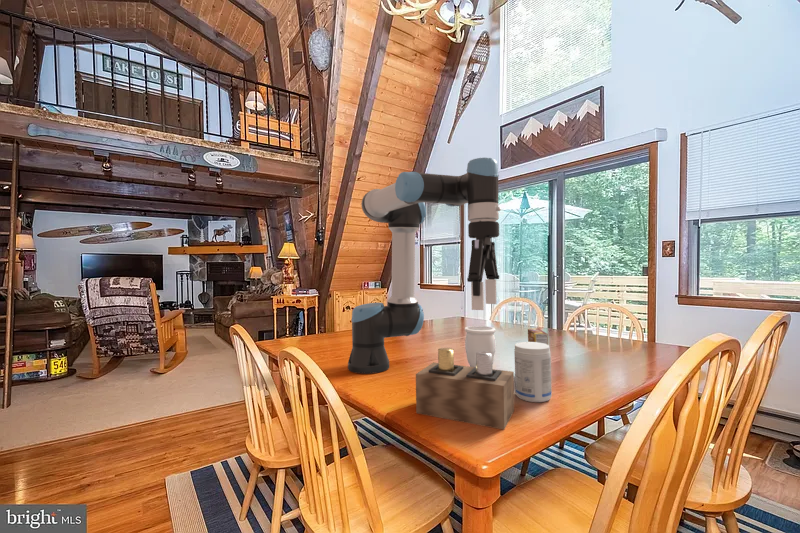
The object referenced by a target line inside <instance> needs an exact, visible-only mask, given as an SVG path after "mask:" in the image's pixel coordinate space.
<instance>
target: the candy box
mask: <svg viewBox="0 0 800 533" xmlns="http://www.w3.org/2000/svg"><path fill="white" fill-rule="evenodd" d="M527 342H539V343H544V344H547V345H549V333H547V332H545V331H544V330H542V329H540V328H527Z"/></svg>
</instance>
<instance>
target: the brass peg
mask: <svg viewBox="0 0 800 533" xmlns="http://www.w3.org/2000/svg"><path fill="white" fill-rule="evenodd" d="M437 351H438V354H437V356H438V357H437V358H438V359H437V361H438V362H437V363H438V367H439V370H440V371H448V372H453V371H454V365H455V356H454V355H455V353H454V352H455V351H454V348H452V347H440V348H438V349H437Z"/></svg>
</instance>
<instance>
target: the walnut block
mask: <svg viewBox="0 0 800 533" xmlns="http://www.w3.org/2000/svg"><path fill="white" fill-rule="evenodd" d="M492 372H493V376H492V377H488V376H480V375H476V367H470V365H469V366H466V365H458V364H454V371H453V372H448V371H440V370H439V367H438V362H432V363H431V364H429V365H428V366H426V367H424V368H423V369H421V370H420V371H418V372H416V373H415V404H416V405H415V406H416V407H415V410H416V411H415V412H416V414H419V415H424V416H430V417H435V418H439V419H441V418H442V419H446V420H450V421H456V422H461V423H467V424H472V425H477V426H482V427H489V428H494V429H499V430H505V429H506V427H507V426H508V423H509V422H510V420H511V418H512V416H513V414H514V412H515V390H514V389H515V386H514V384H515V382H514V381H515V371H512V370H511V371H510V370H501V369H495V368H492Z"/></svg>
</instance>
